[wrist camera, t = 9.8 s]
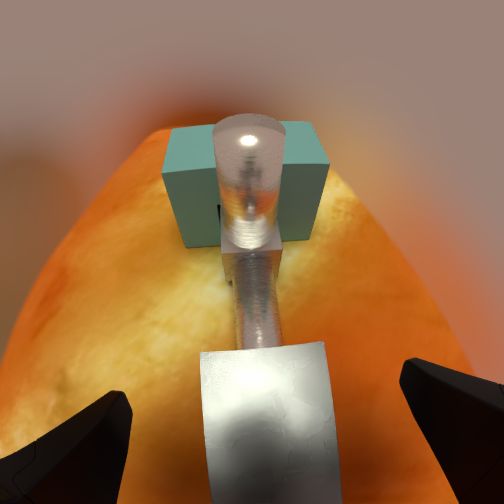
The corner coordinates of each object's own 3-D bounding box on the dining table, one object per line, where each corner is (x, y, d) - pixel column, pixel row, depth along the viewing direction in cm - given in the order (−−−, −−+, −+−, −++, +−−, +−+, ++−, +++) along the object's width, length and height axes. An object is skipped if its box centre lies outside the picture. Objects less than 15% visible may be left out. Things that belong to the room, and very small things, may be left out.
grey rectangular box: (320, 514, 10) (343, 544, 6) (229, 525, 10) (221, 559, 6) (304, 359, 17) (323, 340, 12) (213, 367, 17) (199, 352, 12)
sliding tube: (300, 459, 12) (368, 522, 3) (239, 466, 12) (222, 545, 3) (266, 206, 23) (273, 88, 14) (223, 209, 22) (211, 91, 13)
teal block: (308, 239, 22) (330, 163, 15) (185, 248, 22) (161, 173, 15) (297, 195, 25) (310, 121, 18) (189, 202, 24) (172, 129, 17)
